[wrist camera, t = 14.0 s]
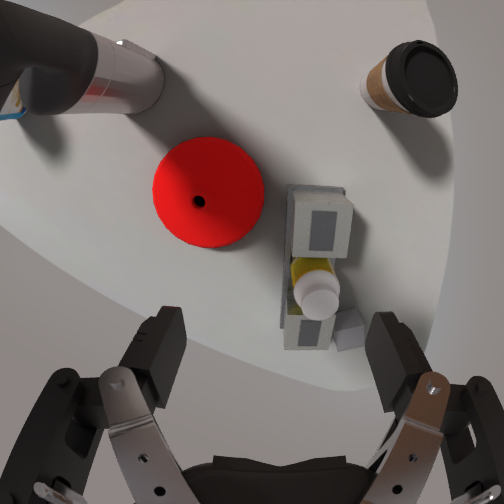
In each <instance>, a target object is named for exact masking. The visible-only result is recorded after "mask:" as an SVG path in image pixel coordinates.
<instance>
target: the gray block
mask: <svg viewBox="0 0 504 504" xmlns="http://www.w3.org/2000/svg"><path fill="white" fill-rule="evenodd" d="M333 335H334V339H335V343H336V348H337V352H340V351H344V350H348V349H352V348H356V347H360V346H364V345H365V334H364V323H363V320H362V318H361V316H360V313H359V311H358V308H353V309H349V310H345V311H340V312H336V318H335V323H334V327H333Z"/></svg>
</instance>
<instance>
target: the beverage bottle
mask: <svg viewBox="0 0 504 504" xmlns="http://www.w3.org/2000/svg"><path fill="white" fill-rule="evenodd" d="M26 112H27V109H26V108H25V107H24V105H23V104H22V102H21V99H20V95H19V80H18V81H17V82H16V84H15V86H14V87H13V89H12V91H11V93H10V95H9V96H8V98H7V100H6V102H5V104H4V106H3V108H2V110H1V112H0V121H1V120H7V119H18V118H21V117H22V116H23V115H24V114H25V113H26Z"/></svg>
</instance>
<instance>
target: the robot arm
mask: <svg viewBox="0 0 504 504" xmlns="http://www.w3.org/2000/svg"><path fill="white" fill-rule="evenodd" d="M155 57H156V56H155V54H153V53H151V52H149V51H147V50H146V49H144V48H142V47H140V46H138V45H136V44H134V43H132V42H130V41H128V40H126V39H123V40H119V41H116V42H114V41H112V40H110V39H107V38H105V37H102V36H100V35H97V34H94V33H92V32H89V31H87V30H85V29H82V28H79V27H77V26H75V25H73V24H70V23H68V22H66V21H64V20H61V19H59V18H56V17H53V16H50V15H47V14H44V13H41V12H38V11H36V10H33V9H30V8H27V7H24V6H22V5H19V4H16V3H13V2H9V1H5V0H0V112H1V110H2V108H3V106H4V104H5V102H6V100H7V98H8V96H9V95H10V93H11V91H12V89H13V87H14V86H15V84H16V82H17V81H18V79H19V95H20V99H21V102H22V104H23V105H24V107H25V108H26V109H27V110H28V111H29V112H30V113H32V114H35V115H42V116H44V115H57V114H79V113H116V114H137V113H140V112H143V111H145V110H147V109H148V108H150V107H151V106H152V105H153V104H154V103H155V102H156V101H157V99H158V98H159V96H160V95H161V92H162V90H163V86H164V74H163V70H162V68H161V66H160V65H159V64H158V63H157V62H156V59H155ZM186 340H187V337H186V330H185V325H184V320H183V314H182V309H181V308H180V307H173V306H162V307H161V309H160V311H159V312H158V314H157V316H156V317H152V316H150V317H149V318H148V319H147V320H145V321H144V322H143V323H142V324H141V326H140V327H139V329H138V331H137V334H136V335H135V336H134V338H133V341H132V342H131V344H130V345H129V347H128V349H127V351H126V352H125V354H124V356H123V358H122V360H121V361H120V363H119V365H118V366H117V367H112V368H109V369H107V370H106V371H104V372H103V373H102V375H101V376H100V377H97V378H80V376H79V375H78V373H77V372H76V371H75V370H74V369H71V368H62V369H59V370H57V371H56V372H54V373H53V374H52V376H51V377H50V379H49V380H48V382H47V384H46V385H45V387H44V389H43V391H42V392H41V394H40V396H39V398H38V400H37V401H36V403H35V405H34V407H33V409H32V411H31V412H30V414H29V416H28V418H27V420H26V422H25V424H24V426H23V428H22V430H21V432H20V434H19V436H18V438H17V440H16V443H15V445H14V447H13V449H12V452H11V454H10V456H9V459H8V461H7V464H6V466H5V468H4V471H3V473H2V476H1V478H0V504H87V502H86V500H85V499H84V497H83V492H84V489H85V485H86V482H87V478H88V475H89V472H90V469H91V466H92V463H93V460H94V457H95V454H96V451H97V448H98V445H99V442H100V440H101V436H102V434H103V431H104V429H110V430H108V435H109V438H110V441H111V444H112V447H113V450H114V453H115V455H116V458H117V461H118V463H119V466H120V468H121V471H122V473H123V475H124V478H125V480H126V483H127V485H128V487H129V489H130V491H131V494H132V496H133V498H134V500H135V502H136V503H134V504H416V502H417V500H418V498H419V497H420V494H421V492H422V490H423V488H424V486H425V483H426V481H427V479H428V477H429V474H430V472H431V470H432V467H433V464H434V462H435V459H436V457H437V454H438V451H439V448H441V452H442V456H443V460H444V464H445V469H446V473H447V478H448V483H449V488H450V494H451V500H452V502H451V503H450V504H504V410H503V407H502V405H501V403H500V401H499V399H498V396H497V394H496V392H495V390H494V388H493V386H492V385H491V383H490V382H489V381H488V380H487V379H486V378H484V377H481V376H474V377H472V378H470V380H469V381H468V382H467V384H466V385H456V384H450V383H449V381H448V380H447V378H446V377H445V376H443V375H442V374H440V373H437V372H433V371H432V369H431V367H430V365H429V363H428V361H427V359H426V357H425V355H424V353H423V351H422V349H421V347H419V344H418V342H417V340H416V338H415V336H414V334H413V333H412V331H411V329H409V328H408V327H407V326H406V325H405V324H404V323H399V322H398V320H397V318H396V316H395V314H394V313H393V312H376V313H375V314H374V316H373V319H372V322H371V325H370V329H369V332H368V335H367V338H366V342H365V351H366V355H367V358H368V361H369V364H370V367H371V370H372V373H373V376H374V379H375V383H376V386H377V389H378V393H379V395H380V399H381V402H382V406H383V410H384V413H386V412H392V411H394V412H395V417H394V419H393V420H392V422H391V424H390V427H389V428H388V430H387V432H386V434H385V436H384V438H383V440H382V442H381V444H380V445H379V447H378V449H377V451H376V452H375V454H374V456H373V457H372V458H371V460H370V461H369V462H368V464H367V465H366V467H362V466H359V465H356V464H351V463H346V457H345V456H337V457H326V458H314V459H310V460H307V461H303V462H299V463H295V464H291V465H286V466H281V467H280V466H274V465H270V464H266V463H262V462H258V461H254V460H251V459H247V458H233V457H224V456H215V455H214V457H213V462H212V463H205V464H200V465H196V466H193V467H190V468H188V469H186V470H184V471H183V470H182V468H181V466H180V465H179V463H178V461H177V460H176V458H175V456H174V455H173V453H172V451H171V449H170V447H169V445H168V444H167V442H166V440H165V438H164V436H163V434H162V432H161V430H160V428H159V426H158V424H157V422H156V420H155V418H154V416H153V413H154V411H155V408H156V407H158V408H163V409H165V407H166V404H167V401H168V398H169V395H170V392H171V389H172V386H173V383H174V380H175V377H176V374H177V371H178V368H179V366H180V363H181V360H182V357H183V354H184V351H185V348H186ZM470 423H471V425H472V428H473V431H474V434H475V437H476V441H477V442H476V447H474V444H473V440H472V437H471V434H470V431H469V428H468V425H470Z"/></svg>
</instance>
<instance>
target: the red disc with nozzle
mask: <svg viewBox="0 0 504 504" xmlns="http://www.w3.org/2000/svg"><path fill="white" fill-rule="evenodd" d="M152 191H153V202H154V205H155V208H156V211H157V214H158V216H159V218H160V219H161V221H162V222H163V224H164V225H165V227H166V228H167V229H168V230H169V231H170V232H171V233H172V234H173V235H175V236H176V237H177V238H179V239H181V240H182V241H184V242H186V243H188V244H191V245H194V246H198V247H202V248H218V247H222V246H227V245H230V244H232V243H234V242H236V241H238V240H240V239H242V238H243V237H244V236H245V235H246V234H247V233H248V232H249V231H250V230H252V228H253V227H254V225H255V224H256V222H257V220H258V219H259V217H260V214H261V211H262V208H263V204H264V185H263V181H262V177H261V173H260V171H259V170H258V168H257V166H256V164H255V163H254V161H253V159H252V158H251V157H250V156H249V155H248V154H247V153H246V152H245V151H244V150H243V149H241V148H240V147H238V146H236V145H235V144H233V143H231V142H229V141H227V140H223V139H219V138H214V137H199V138H194V139H191V140H188V141H185V142H182V143H180V144H179V145H177V146H176V147H175V148H173V149H172V150H170V151H169V152H168V154H167V155H166V156H165V157H164V158H163V160H162V161H161V162H160V164H159V166H158V168H157V171H156V173H155V175H154V181H153V188H152ZM195 196H201V197H203V198H204V200H205V206H203V205H201V204H200V203H199V202H197V200H196V199H195Z"/></svg>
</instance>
